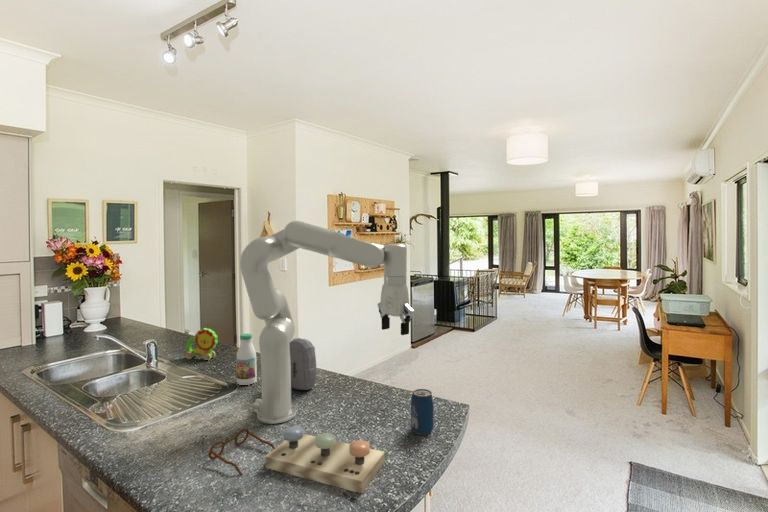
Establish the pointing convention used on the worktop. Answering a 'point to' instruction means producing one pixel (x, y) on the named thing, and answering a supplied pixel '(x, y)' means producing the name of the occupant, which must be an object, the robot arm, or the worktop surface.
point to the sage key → (325, 440)
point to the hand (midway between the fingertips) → (395, 331)
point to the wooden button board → (326, 463)
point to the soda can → (422, 411)
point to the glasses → (236, 444)
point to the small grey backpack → (302, 364)
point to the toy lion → (202, 344)
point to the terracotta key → (359, 448)
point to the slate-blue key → (293, 433)
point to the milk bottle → (246, 361)
